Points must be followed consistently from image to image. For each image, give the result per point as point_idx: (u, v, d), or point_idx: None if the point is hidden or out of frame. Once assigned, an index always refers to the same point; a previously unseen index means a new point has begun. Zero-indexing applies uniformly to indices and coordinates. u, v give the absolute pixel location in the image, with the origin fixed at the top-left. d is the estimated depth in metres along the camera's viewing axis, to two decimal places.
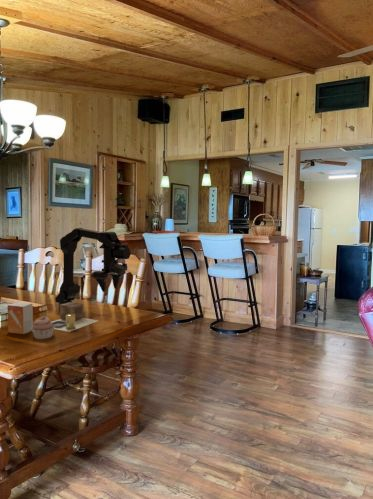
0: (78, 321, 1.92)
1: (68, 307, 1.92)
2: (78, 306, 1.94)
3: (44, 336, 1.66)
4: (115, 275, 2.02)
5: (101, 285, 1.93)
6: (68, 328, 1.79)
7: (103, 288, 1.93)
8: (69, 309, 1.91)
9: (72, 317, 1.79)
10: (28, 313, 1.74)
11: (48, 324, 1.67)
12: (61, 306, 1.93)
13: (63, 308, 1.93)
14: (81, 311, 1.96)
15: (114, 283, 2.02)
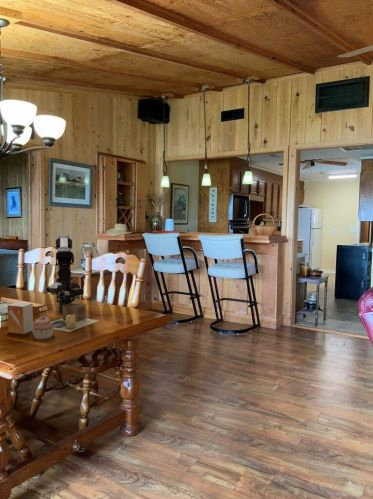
0: (78, 321, 1.92)
1: (71, 307, 1.91)
2: (81, 306, 1.93)
3: (44, 336, 1.66)
4: None
5: None
6: (68, 328, 1.79)
7: None
8: (72, 309, 1.91)
9: (72, 317, 1.79)
10: (28, 313, 1.74)
11: (48, 324, 1.67)
12: (64, 306, 1.93)
13: (66, 308, 1.92)
14: (84, 311, 1.95)
15: None
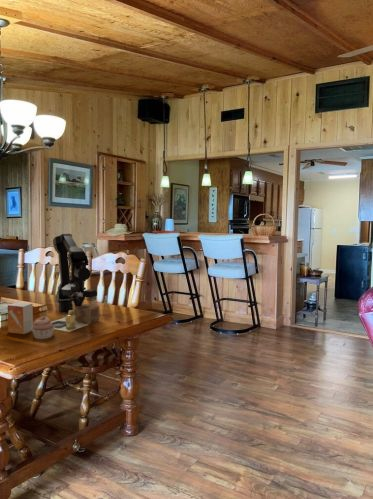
0: None
1: (84, 309, 1.87)
2: (94, 308, 1.90)
3: (44, 336, 1.66)
4: None
5: None
6: (68, 328, 1.79)
7: None
8: (85, 311, 1.87)
9: (72, 317, 1.79)
10: (28, 313, 1.74)
11: (48, 324, 1.67)
12: (77, 308, 1.89)
13: (79, 310, 1.89)
14: (97, 313, 1.92)
15: None
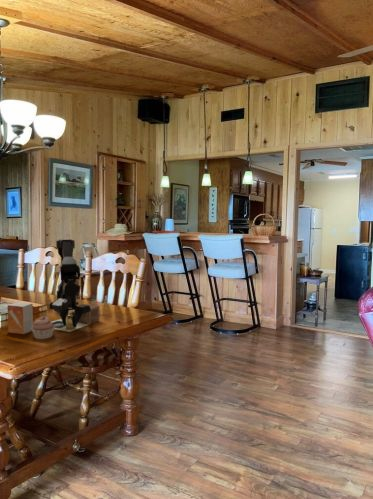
0: None
1: None
2: (94, 308, 1.90)
3: (44, 336, 1.66)
4: None
5: None
6: (68, 328, 1.79)
7: None
8: None
9: (72, 317, 1.79)
10: (28, 313, 1.74)
11: (48, 324, 1.67)
12: None
13: None
14: (97, 313, 1.92)
15: None
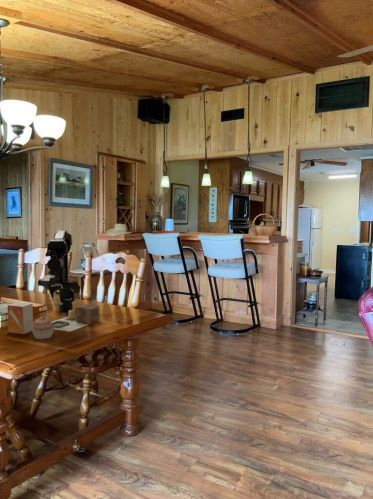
0: None
1: (84, 309, 1.87)
2: (94, 308, 1.90)
3: (44, 336, 1.66)
4: None
5: None
6: (55, 304, 1.82)
7: None
8: (85, 311, 1.87)
9: None
10: (28, 313, 1.74)
11: (48, 324, 1.67)
12: (77, 308, 1.89)
13: (79, 310, 1.89)
14: (97, 313, 1.92)
15: None
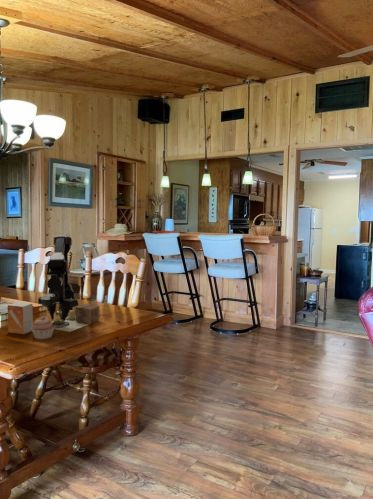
0: None
1: (84, 309, 1.87)
2: (94, 308, 1.90)
3: (44, 336, 1.66)
4: None
5: None
6: None
7: None
8: (85, 311, 1.87)
9: (60, 314, 1.83)
10: (28, 313, 1.74)
11: (48, 324, 1.67)
12: (77, 308, 1.89)
13: (79, 310, 1.89)
14: (97, 313, 1.92)
15: None
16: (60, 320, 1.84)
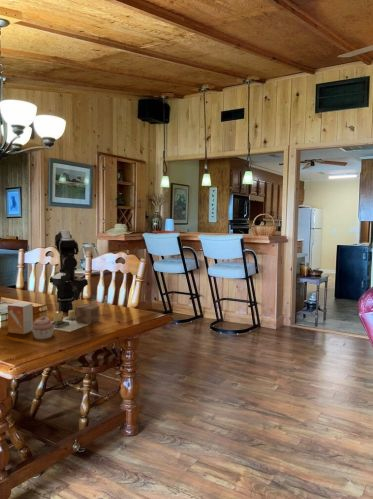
0: None
1: (84, 309, 1.87)
2: (94, 308, 1.90)
3: (44, 336, 1.66)
4: None
5: None
6: None
7: None
8: (85, 311, 1.87)
9: (60, 314, 1.83)
10: (28, 313, 1.74)
11: (48, 324, 1.67)
12: (77, 308, 1.89)
13: (79, 310, 1.89)
14: (97, 313, 1.92)
15: None
16: (60, 320, 1.84)
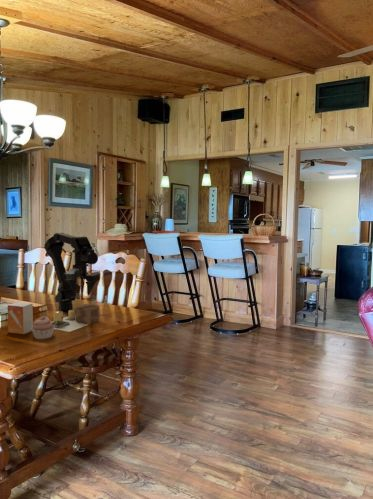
0: None
1: (84, 309, 1.87)
2: (94, 308, 1.90)
3: (44, 336, 1.66)
4: None
5: None
6: None
7: None
8: (85, 311, 1.87)
9: (60, 314, 1.83)
10: (28, 313, 1.74)
11: (48, 324, 1.67)
12: (77, 308, 1.89)
13: (79, 310, 1.89)
14: (97, 313, 1.92)
15: None
16: (60, 320, 1.84)
